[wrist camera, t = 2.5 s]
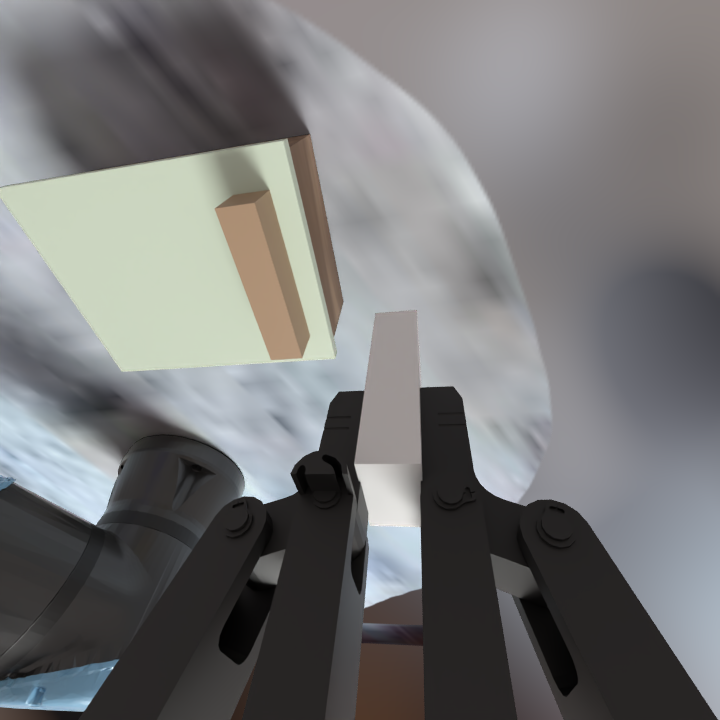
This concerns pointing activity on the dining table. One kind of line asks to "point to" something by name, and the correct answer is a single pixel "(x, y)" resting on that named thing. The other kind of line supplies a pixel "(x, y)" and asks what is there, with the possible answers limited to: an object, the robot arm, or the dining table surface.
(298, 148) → the box
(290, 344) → the lid
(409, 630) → the dining table surface
